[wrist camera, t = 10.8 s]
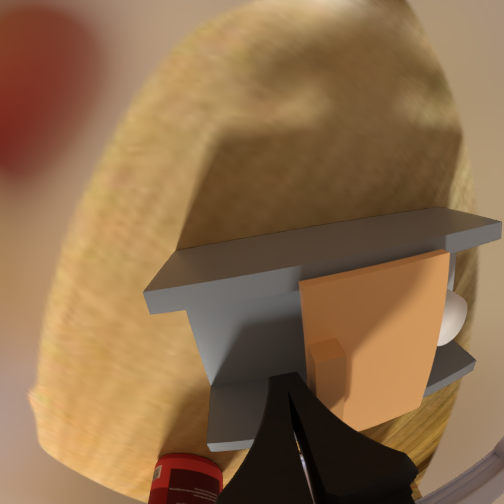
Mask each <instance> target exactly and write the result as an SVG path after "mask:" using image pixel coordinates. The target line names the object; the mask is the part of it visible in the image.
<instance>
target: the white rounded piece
mask: <svg viewBox="0 0 504 504" xmlns="http://www.w3.org/2000/svg"><path fill="white" fill-rule="evenodd" d="M466 315H467V303H466V301H465V299H464V298H462V297H461V296H459V295H457V294H456V293H454V292H452V291H451V290H449V289H447V292H446V299H445V306H444V313H443V319H442V324H441V329H440V334H439V339H438V344H437V346H442V345H445V344H447V343H448V342H450V341H451V340H452V339H453V338H454V337H455V336H456V335H457V334H458V333H459V331H460V330H461V328H462V326H463V324H464V322H465V319H466Z"/></svg>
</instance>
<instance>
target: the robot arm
mask: <svg viewBox="0 0 504 504" xmlns="http://www.w3.org/2000/svg"><path fill="white" fill-rule="evenodd" d="M293 430H294V431H293ZM294 433H295V435H294ZM295 436H296V438H295ZM296 439H297V442H298V445H299V448H300V450H301V453H302V454H300V453H299V450H298V446H297V442H296ZM417 474H418V469H417V467H416V466H415V464H414V463H413V461H412V460H411V459H410V458H409V457H408V456H407V454H406V453H403V452H400V451H397V450H394V449H392V448H389V447H387V446H384V445H382V444H380V443H378V442H376V441H374V440H372V439H370V438H368V437H366V436H365V435H363V434H361V433H359V432H358V431H356V430H355V429H353V428H352V427H350V426H349V425H347V424H346V423H345V422H343V421H342V420H341V419H339V418H338V417H337V416H336V415H335V414H333V413H332V412H331V411H330V410H329V409H328V408H327V407H326V406H325V405H324V404H323V403H322V402H321V401H320V400H319V399H318V398H317V397H316V396H315V395H314V394H313V392H312V391H311V390H310V389H309V387H308V386H307V385H306V384H305V382H304V381H303V379H302V378H301V376H300V375H299V373H298V372H291V373H286V374H281V375H276V376H271V377H269V378H268V394H267V400H266V405H265V409H264V413H263V417H262V420H261V423H260V426H259V429H258V432H257V434H256V437H255V439H254V441H253V444H252V446H251V448H250V450H249V452H248V454H247V456H246V457H245V459H244V461H243V463H242V464H241V466H240V467H239V469H238V470H237V472H236V473H235V475H234V476H233V478H232V479H231V480H230V482H229V483H228V484H227V485H226V486H225V488H224V489H223V490H222V491H221V492H220V493H219V495H218V496H217V498H216V500H215V503H214V504H492V503H493V502H494V501H495V500H496V499H497V498H498V497H500V496H501V495H502V494H503V493H504V437H503V438H502V439H501V440H500V441H499V442H498V443H497V445H496V446H495V447H494V449H493V450H492V451H491V452H490V453H489V454H487V455H486V456H485V457H484V458H482V459H481V460H480V461H478V462H477V463H476V464H474V465H473V466H472V467H470V468H469V469H467V470H466V471H465V472H463V473H462V474H460V475H459V476H457V477H456V478H454V479H453V480H451V481H450V482H448V483H447V484H445V485H443V486H442V487H440V488H438V489H437V490H435V491H433V492H431V493H430V494H428V495H426V496H424V497H422V498H420V499H418V500H416V501H414V499H413V497H412V495H411V494H412V493H413V491H412V489H411V487H410V485H411V483H412V482H413V481H414V479H415V478H416V476H417Z"/></svg>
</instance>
